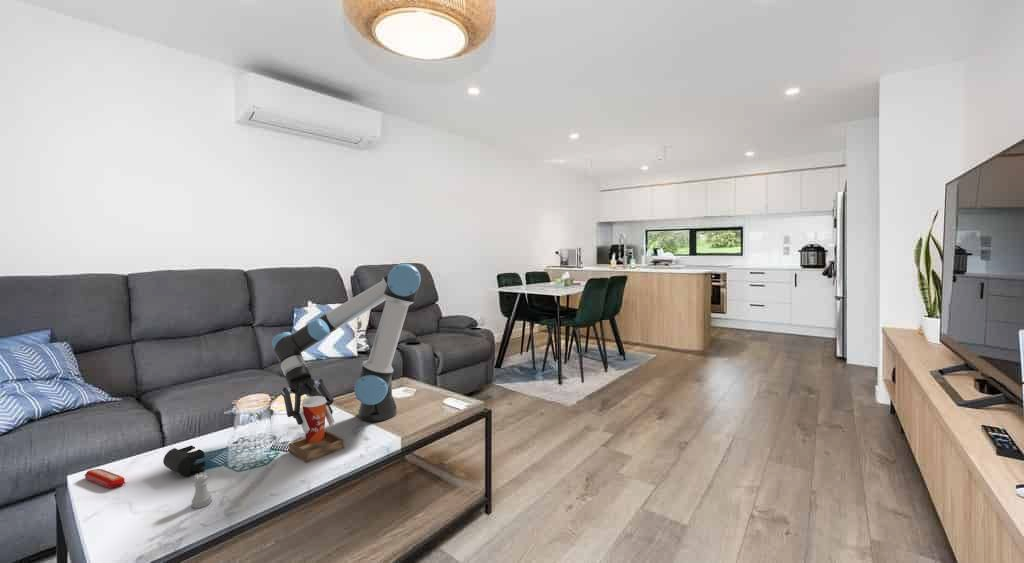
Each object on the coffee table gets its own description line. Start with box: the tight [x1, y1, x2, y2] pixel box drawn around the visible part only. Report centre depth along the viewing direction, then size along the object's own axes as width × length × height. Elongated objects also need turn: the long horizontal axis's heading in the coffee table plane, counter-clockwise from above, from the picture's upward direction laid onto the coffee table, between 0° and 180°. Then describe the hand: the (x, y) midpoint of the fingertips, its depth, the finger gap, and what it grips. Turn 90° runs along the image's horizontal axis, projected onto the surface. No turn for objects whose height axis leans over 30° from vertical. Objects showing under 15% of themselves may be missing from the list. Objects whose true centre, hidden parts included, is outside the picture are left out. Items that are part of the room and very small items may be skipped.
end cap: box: [162, 445, 206, 478], centre depth 126 cm, size 10×7×7 cm
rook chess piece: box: [190, 472, 213, 509], centre depth 110 cm, size 4×4×8 cm
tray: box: [288, 430, 345, 464], centre depth 140 cm, size 13×12×3 cm
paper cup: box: [301, 396, 327, 443], centre depth 140 cm, size 8×8×14 cm
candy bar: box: [84, 468, 126, 489], centre depth 121 cm, size 16×4×3 cm, turn 67°
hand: (319, 427), depth 138 cm, fingers closed on paper cup, 8 cm apart
